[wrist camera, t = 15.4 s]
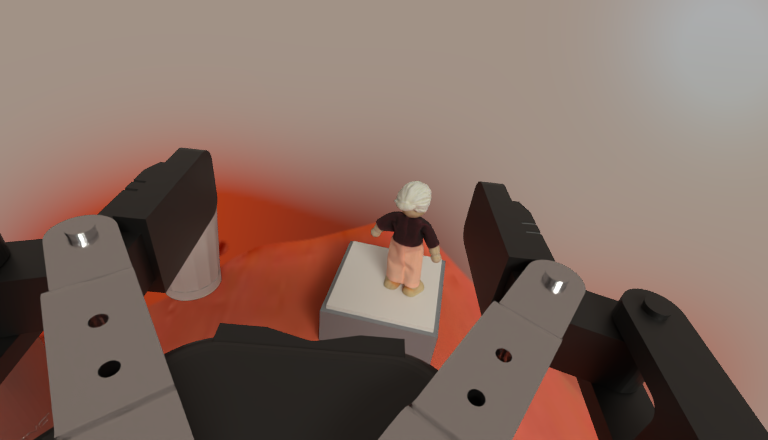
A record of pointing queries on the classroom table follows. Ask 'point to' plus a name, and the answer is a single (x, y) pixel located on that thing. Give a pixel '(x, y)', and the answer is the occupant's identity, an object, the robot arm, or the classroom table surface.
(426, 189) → the grandmother figurine
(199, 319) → the classroom table surface
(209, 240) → the cup
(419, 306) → the plinth
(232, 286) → the classroom table surface
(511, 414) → the robot arm
